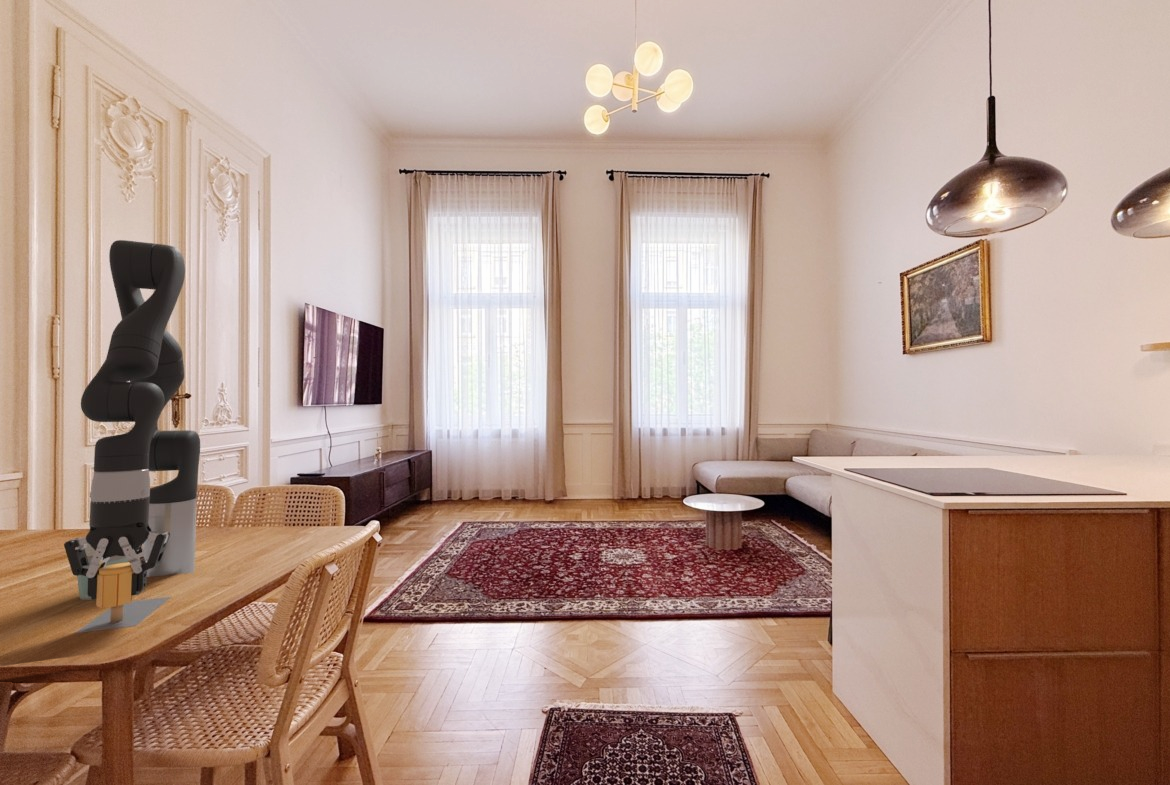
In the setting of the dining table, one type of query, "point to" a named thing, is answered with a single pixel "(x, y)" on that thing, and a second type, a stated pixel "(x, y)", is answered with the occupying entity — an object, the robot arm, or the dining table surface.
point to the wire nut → (114, 585)
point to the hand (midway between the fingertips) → (117, 595)
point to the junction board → (124, 615)
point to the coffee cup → (89, 553)
